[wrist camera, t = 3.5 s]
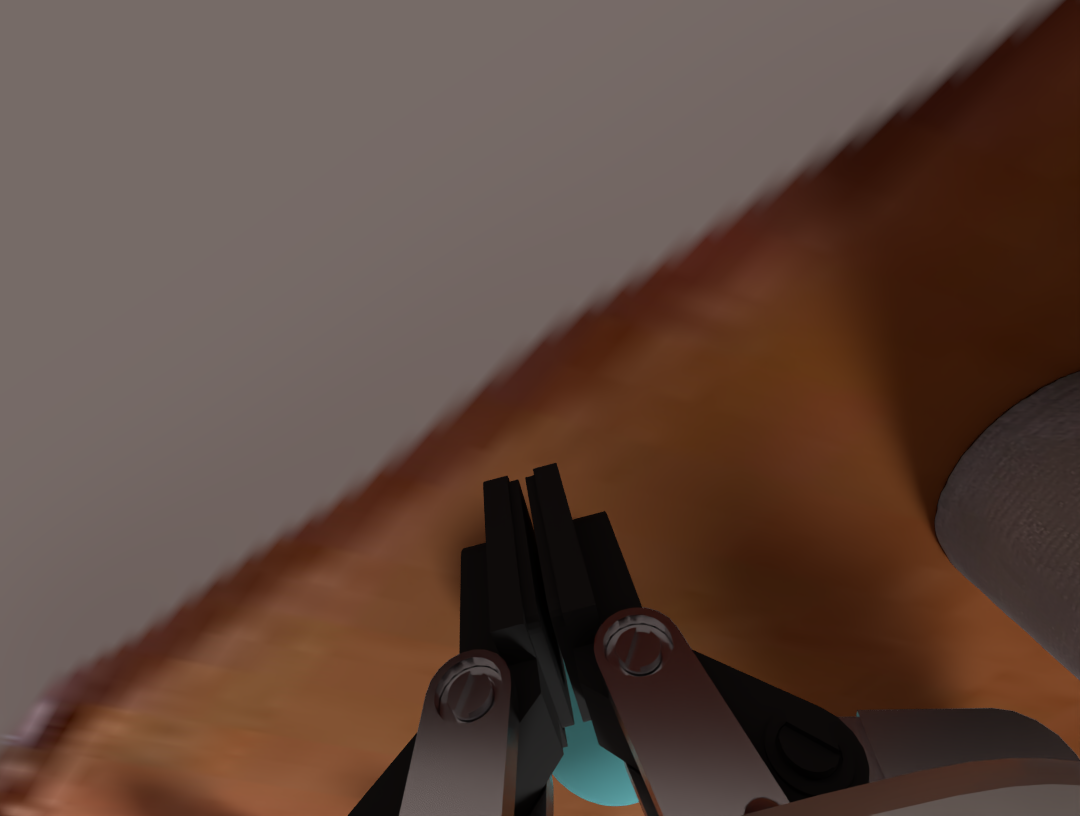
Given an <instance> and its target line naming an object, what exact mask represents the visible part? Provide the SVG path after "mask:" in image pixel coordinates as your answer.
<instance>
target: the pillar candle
mask: <svg viewBox="0 0 1080 816" xmlns="http://www.w3.org/2000/svg"><path fill="white" fill-rule="evenodd" d="M937 506H938V510H937V513H936V516H935V531H936V535H937V538H938V540H939V543H940V544H941V547H942V548H943V550H944V552H945V553H946V555H947V557H948V558H949V561H950V562H951V563H952V564H953V565H954V567H955V568H956V569H957V570H959V571H960V572H961V573H962V574H963V575H964V576H965V577H966V578H967V579H968V580H969V581H970V582H972V583H973V584H974V585H975V586H976V587H977V588H979V589H980V590H981V591H982V592H983V593H984V594H985V595H986V596H987V597H988V598H989V599H990V600H991V601H992V602H993V603H994V604H995V605H997V606H998V607H999V608H1000V609H1001V610H1002V611H1003V612H1004V613H1005V614H1006V615H1007V616H1008V617H1010V618H1011V619H1012V620H1013V621H1015V622H1016V623H1017V624H1018V625H1019V626H1020V627H1021V628H1022V629H1024V630H1025V631H1026V632H1027V633H1028V634H1029V635H1030V636H1031V637H1032V638H1034V639H1035V641H1036V642H1038V643H1039V644H1040V645H1041V646H1042V647H1043V648H1044V649H1045V650H1046V651H1048V652H1049V653H1050V654H1051V655H1052V656H1053V657H1054V658H1055V659H1056V660H1057V661H1058V662H1060V663H1061V664H1062V665H1063V666H1064V667H1065V668H1066V669H1068V670H1069V671H1070V672H1071V673H1072V674H1073V675H1074V676H1075V677H1077V678H1078V679H1079V680H1080V371H1079V372H1076V373H1073V374H1070V375H1067V376H1066V377H1063V378H1060V379H1058V380H1056V381H1055V382H1053V383H1051V384H1050V385H1048V386H1045V387H1043V388H1041V389H1040V390H1038V391H1037V392H1036V393H1034V394H1033V395H1031V396H1030V397H1028V398H1026V399H1024V400H1022V401H1020V402H1019V403H1018V404H1016V405H1015V406H1013V407H1012V408H1011V409H1010V410H1008V411H1007V412H1006V413H1005V414H1003V415H1002V416H1001V417H999V418H998V419H997V420H996V421H995V422H994V423H993V424H992V425H990V426H989V427H988V428H987V429H986V430H985V431H984V432H983V433H982V434H981V436H980V437H979V438H978V439H977V440H976V441H975V442H974V443H973V445H972V446H971V447H970V448H969V449H968V450H967V451H966V452H965V453H964V454H963V456H962V457H961V459H960V460H959V462H958V463H957V465H956V467H955V468H954V470H953V472H952V473H951V475H950V476H949V478H948V481H947V484H946V486H945V488H944V489H943V491H942V492H941V496H940V499H939V501H938V505H937Z"/></svg>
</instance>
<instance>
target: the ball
mask: <svg viewBox="0 0 1080 816" xmlns="http://www.w3.org/2000/svg"><path fill="white" fill-rule="evenodd" d="M563 663H564V660H563ZM564 668H565V673H566V679H567V684H568V689H569V695H570V700H571V706H572V711H573V717H574V725H572V726H568V727H565V732H566V738H567V744H568V747H564V748H563V752H564V755H563V757H562V758H561V760H560V762H559V763H558V765H557V766H556V768H555V770H554V771H553V773H552V774H553V775H554V777H555V778H556V779H557V780H558V781H559V782H560V783H561V784H562V785H564V786H565V787H566V788H567V789H568V790H570V791H571V792H572V793H574V794H576V795H578V796H579V797H581V798H583V799H585V800H587V801H590V802H594V803H597V804H600V805H606V806H624V805H630V804H634V803H638V802H639V800H638V798H637V795H636V793H635V790H634V788H633V785H632V783H631V781H630V778H629V776H628V773H627V771H626V768H625V764H624V761H623V760H621V759H620V758H618V757H617V756H615V755H614V754H612V753H610V752H609V751H607V750H606V749H604V748H603V747H601V746H600V745H599V744H598V740H597V737H596V734H595V730H594V727H593V724H592V721H591V720H590V721H587V722H583V720H582V717H581V714H580V711H579V707H578V704H577V701H576V698H575V695H574V692H573V689H572V685H571V682H570V679H569V676H568V673H567V670H566V667H565V663H564Z"/></svg>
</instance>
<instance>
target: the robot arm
mask: <svg viewBox="0 0 1080 816" xmlns="http://www.w3.org/2000/svg"><path fill="white" fill-rule="evenodd" d="M533 471H534V475H533V476H530V477H526V478H525V479H526V485H527V490H528V496H529V502H530V508H531V513H532V519H533V525H534V529H533V526H532V523H531V519H530V516H529V513H528V509H527V506H526V503H525V500H524V496H523V493H522V490H521V486H520V483H519V481H518V480H514V481H511V482H510V481H509V478H508V476H504V477H500V478H496V479H493V480H489V481H485V482H484V483H483V490H484V512H485V533H486V543H483V544H479V545H475V546H471V547H468V548H464V549H463V550H462V552H461V592H460V654H458V655H457V656H455V657H453V658H451V659H450V660H448V661H447V662H446V663H445V664H444V665H443V666H442V667H441V668H440V669H439V670H438V671H437V673H436V674H435V676H434V677H433V679H432V680H431V682H430V684H429V687H428V690H427V693H426V696H425V701H424V705H423V710H422V714H421V719H420V723H419V728H418V732H417V733H416V734H415V736H414V737H413V738H412V739H411V740H410V742H409V743H408V744H407V745H406V746H405V748H404V749H403V750H402V751H401V752H400V754H399V755H398V756H397V757H396V758H395V760H394V761H393V762H392V763H391V764H390V766H389V767H388V768H387V769H386V770H385V772H384V773H383V774H382V775H381V776H380V778H379V779H378V780H377V781H376V782H375V783H374V785H373V786H372V787H371V788H370V789H369V791H368V792H367V793H366V794H365V795H364V797H363V798H362V799H361V800H360V801H359V803H358V804H357V805H356V806H355V807H354V809H353V810H352V811H351V812H350V813H349V815H348V816H554V802H553V781H552V773H553V771H554V770H555V768H556V766H557V765H558V763H559V762H560V760H561V758H562V757H563V755H564V752H563V748H564V747H568V744H567V738H566V732H565V727H568V726H572V725H574V717H573V711H572V706H571V700H570V695H569V689H568V684H567V679H566V673H565V668H564V663H565V667H566V670H567V673H568V676H569V679H570V682H571V685H572V689H573V692H574V695H575V698H576V701H577V704H578V707H579V711H580V714H581V717H582V720H583V722H587V721H590V720H591V721H592V724H593V727H594V730H595V734H596V737H597V740H598V744H599V745H600V746H601V747H603V748H604V749H606V750H607V751H609V752H610V753H612V754H614V755H615V756H617V757H618V758H620V759H621V760H623V761H624V764H625V768H626V771H627V773H628V776H629V778H630V781H631V783H632V785H633V788H634V790H635V793H636V795H637V798H638V800H639V803H640V805H641V808H642V810H643V813H644V815H645V816H1080V759H1079V758H1078V756H1077V755H1076V754H1075V753H1074V751H1073V750H1072V749H1071V748H1070V747H1069V746H1068V745H1067V744H1066V743H1065V742H1064V741H1063V740H1062V739H1061V738H1060V737H1059V736H1058V735H1057V734H1056V733H1054V732H1053V731H1051V730H1050V729H1048V728H1047V727H1045V726H1044V725H1042V724H1041V723H1039V722H1038V721H1036V720H1034V719H1032V718H1029V717H1027V716H1024V715H1022V714H1019V713H1017V712H1015V711H1010V710H1003V709H996V708H963V709H899V710H857V715H856V717H836V716H835V715H833V714H831V713H829V712H828V711H826V710H824V709H823V708H821V707H819V706H816V705H814V704H812V703H810V702H808V701H805V700H803V699H801V698H799V697H796V696H794V695H792V694H790V693H788V692H785V691H783V690H781V689H779V688H776V687H774V686H772V685H770V684H767V683H765V682H763V681H761V680H759V679H756V678H754V677H752V676H750V675H747V674H745V673H743V672H741V671H739V670H736V669H734V668H732V667H730V666H727V665H725V664H723V663H721V662H718V661H716V660H714V659H712V658H710V657H707V656H705V655H703V654H701V653H698V652H696V651H694V650H692V649H691V648H690V646H689V644H688V643H687V641H686V640H685V638H684V637H683V635H682V634H681V632H680V630H679V629H678V627H677V626H676V625H675V624H674V623H673V622H672V621H671V619H670V618H669V617H667V616H665V615H664V614H662V613H660V612H659V611H656V610H652V609H649V608H642V606H641V603H640V601H639V598H638V595H637V593H636V590H635V587H634V585H633V582H632V579H631V577H630V574H629V571H628V569H627V566H626V563H625V561H624V558H623V556H622V553H621V550H620V548H619V545H618V542H617V540H616V537H615V534H614V532H613V529H612V526H611V524H610V521H609V518H608V516H607V514H606V512H605V511H604V512H600V513H596V514H593V515H589V516H585V517H581V518H577V519H574V520H572V517H571V513H570V510H569V506H568V503H567V499H566V495H565V492H564V488H563V485H562V481H561V478H560V474H559V470H558V467H557V463H554V464H550V465H546V466H542V467H538V468H535V469H533ZM534 531H535V532H534ZM563 660H564V663H563Z"/></svg>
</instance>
